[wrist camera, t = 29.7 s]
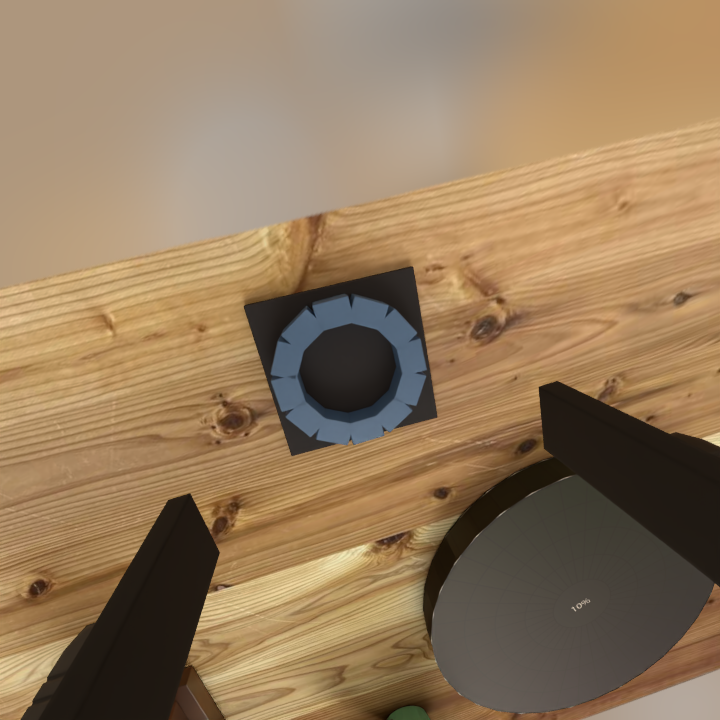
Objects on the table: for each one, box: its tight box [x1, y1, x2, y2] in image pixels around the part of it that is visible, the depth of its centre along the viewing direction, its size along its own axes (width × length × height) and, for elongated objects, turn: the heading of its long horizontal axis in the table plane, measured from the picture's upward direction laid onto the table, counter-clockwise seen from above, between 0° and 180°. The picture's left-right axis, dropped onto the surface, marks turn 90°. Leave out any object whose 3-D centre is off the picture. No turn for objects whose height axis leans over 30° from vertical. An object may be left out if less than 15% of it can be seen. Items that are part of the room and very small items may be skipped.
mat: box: [244, 267, 437, 456], centre depth 25 cm, size 12×12×1 cm
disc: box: [423, 457, 715, 714], centre depth 33 cm, size 30×30×3 cm
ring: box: [270, 294, 427, 445], centre depth 24 cm, size 11×11×2 cm
